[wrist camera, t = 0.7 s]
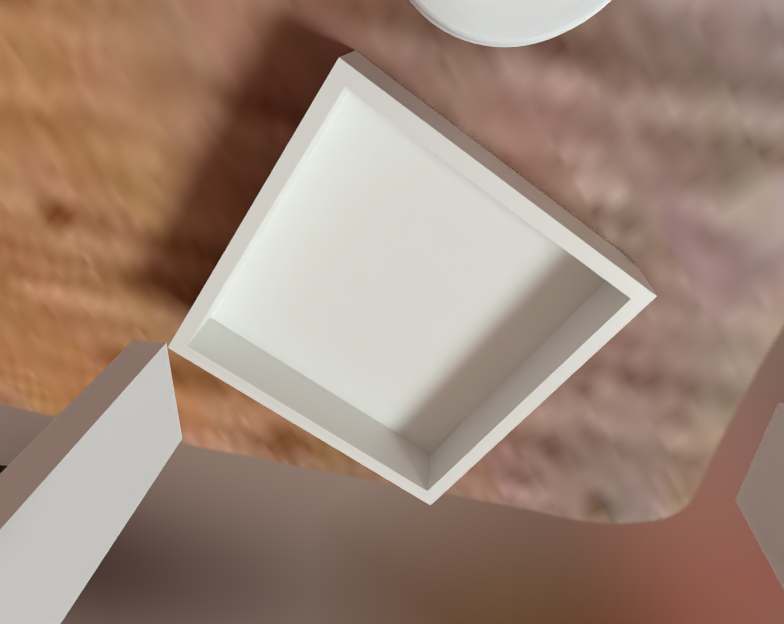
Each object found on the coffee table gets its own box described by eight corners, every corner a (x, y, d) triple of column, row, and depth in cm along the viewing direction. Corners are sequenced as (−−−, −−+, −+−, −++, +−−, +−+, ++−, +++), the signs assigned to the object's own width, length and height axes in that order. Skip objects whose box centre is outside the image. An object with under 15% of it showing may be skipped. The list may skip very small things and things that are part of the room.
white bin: (197, 313, 43) (167, 347, 39) (355, 50, 34) (338, 57, 29) (433, 459, 48) (430, 505, 43) (634, 262, 38) (656, 296, 33)
